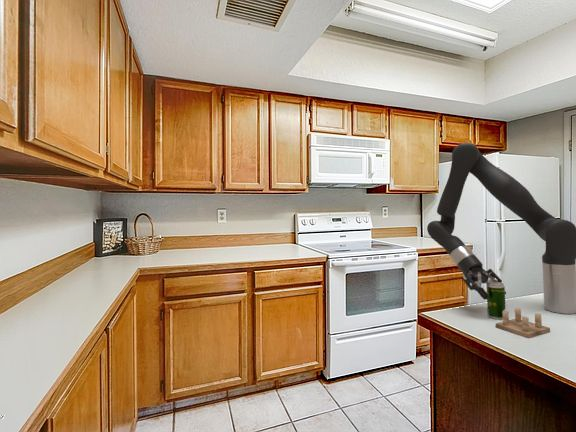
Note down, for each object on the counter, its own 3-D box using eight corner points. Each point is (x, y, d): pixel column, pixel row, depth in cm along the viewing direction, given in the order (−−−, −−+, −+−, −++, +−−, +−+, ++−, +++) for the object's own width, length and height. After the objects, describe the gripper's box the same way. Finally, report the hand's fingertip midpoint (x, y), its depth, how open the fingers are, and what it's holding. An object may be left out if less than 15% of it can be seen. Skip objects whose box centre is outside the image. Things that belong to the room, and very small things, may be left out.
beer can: (507, 316, 112) (505, 282, 111) (504, 320, 108) (503, 285, 107) (489, 313, 115) (488, 281, 115) (486, 317, 111) (484, 284, 111)
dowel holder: (516, 321, 106) (515, 306, 106) (550, 331, 97) (549, 315, 97) (495, 327, 103) (495, 311, 102) (528, 338, 93) (528, 320, 93)
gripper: (457, 256, 117) (488, 293, 106) (484, 252, 122) (516, 288, 111) (446, 268, 122) (474, 305, 111) (473, 264, 127) (502, 299, 116)
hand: (495, 296), depth 111 cm, fingers open, 8 cm apart
